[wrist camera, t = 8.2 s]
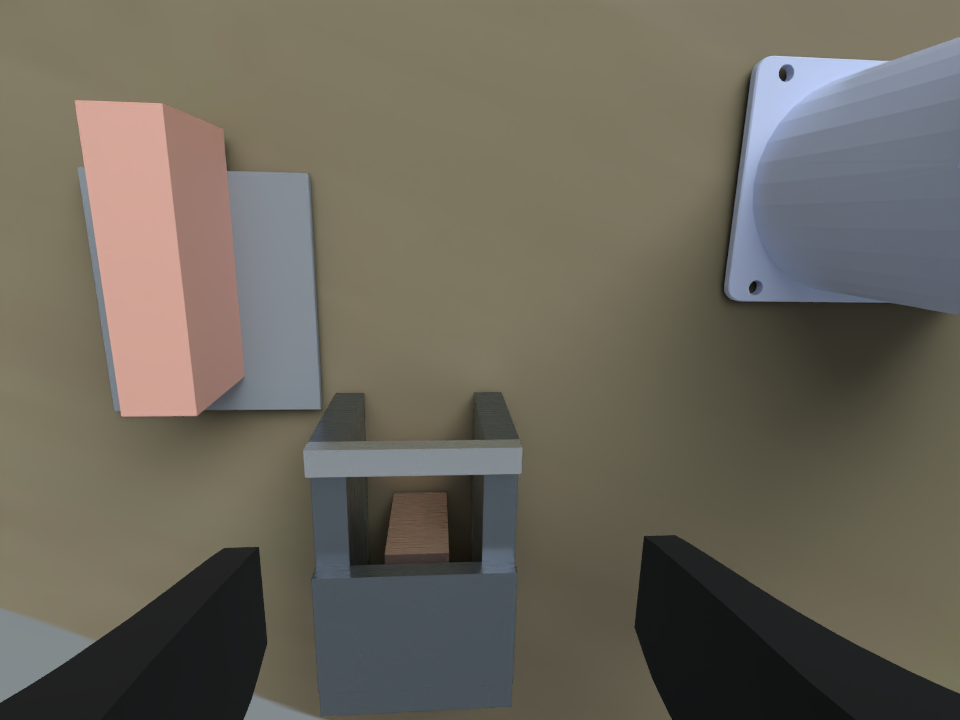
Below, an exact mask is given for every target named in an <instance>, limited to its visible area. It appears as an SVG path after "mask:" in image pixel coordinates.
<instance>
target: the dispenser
mask: <svg viewBox="0 0 960 720" xmlns="http://www.w3.org/2000/svg"><path fill="white" fill-rule="evenodd" d="M303 454H304V470H305V478H310V481H311V497H312V514H313V530H314V547H315V563H316V567H315V570H314V573H313V576H312V579H311V581H312V597H313V612H314V628H315V644H316V660H317V676H318V691H319V694H320V710H321V716H339V715H358V714H377V713H397V712H416V711H435V710H454V709H474V708H493V707H511V697H512V683H513V662H514V638H515V614H516V590H517V569H516V565H515V561H514V559H515V534H516V509H517V484H518V474H521V471H522V445H521V443H520V440H519V437H518V435H517V432H516V430H515V427H514V424H513V422H512V419H511V417H510V414H509V411H508V409H507V406H506V403H505V401H504V398H503V396H502V393H501V392H482V393H474V432H473V440H430V441H365V411H364V393H336V394H335V395H334V397H333V399H332V401H331V403H330V404H329V406H328V408H327V410H326V411H325V413H324V415H323V417H322V418H321V420H320V422H319V424H318V425H317V427H316V429H315V431H314V433H313V434H312V436H311V438H310V440H309V441H308V443H307V445H306V447H305V448H304V450H303ZM430 475H473V487H472V542H471V562H451V563H449V540H448V517H447V494H446V492H427V493H394V496H393V502H392V509H391V516H390V522H389V529H388V536H387V543H386V549H385V564H384V565H370V561H369V531H368V501H367V477H372V476H430Z"/></svg>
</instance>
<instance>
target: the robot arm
mask: <svg viewBox="0 0 960 720" xmlns="http://www.w3.org/2000/svg"><path fill="white" fill-rule="evenodd" d="M780 68H784V69H785V71H786V73H787V77H786V80H785V81H781V79H780V78H779V70H780ZM753 281H755V282H756V284H757V287H756V290H755V291H754V292H753V293H750V292H749V286H750V284H751V283H752V282H753ZM724 292H725V294H726V296H727V297H729V298H730V299H732V300H736V301H759V302H873V303H894V304H900V305H905V306H911V307H916V308H922V309H927V310H932V311H938V312H943V313H949V314H954V315H960V37H958V38H955V39H952V40H950V41H947V42H944V43H941V44H938V45H935V46H932V47H929V48H926V49H924V50H921V51H918V52H915V53H912V54H909V55H906V56H903V57H900V58H898V59H895V60H892V61H872V60H851V59H829V58H808V57H787V56H770V57H766V58H764V59H762V60H761V61H759V62H758V63H757V64H756V65H755V66H754V68H753V70H752V74H751V80H750V88H749V96H748V104H747V111H746V119H745V127H744V135H743V143H742V150H741V158H740V166H739V174H738V182H737V189H736V197H735V205H734V213H733V221H732V228H731V236H730V244H729V252H728V259H727V267H726V275H725V283H724ZM635 630H636V633H637V636H638V639H639V642H640V645H641V648H642V651H643V654H644V657H645V659H646V662H647V665H648V668H649V670H650V673H651V676H652V679H653V681H654V683H655V685H656V687H657V690H658V692H659V694H660V696H661V698H662V700H663V702H664V704H665V706H666V708H667V710H668V712H669V714H670V716H671V718H672V720H960V694H959V693H957V692H954V691H952V690H950V689H947V688H945V687H943V686H940V685H938V684H936V683H934V682H932V681H929V680H927V679H925V678H923V677H921V676H919V675H916V674H914V673H912V672H910V671H908V670H906V669H904V668H902V667H900V666H898V665H896V664H894V663H892V662H890V661H888V660H886V659H884V658H882V657H880V656H878V655H876V654H874V653H872V652H870V651H868V650H866V649H864V648H862V647H860V646H858V645H856V644H854V643H852V642H850V641H849V640H847V639H845V638H843V637H841V636H839V635H837V634H836V633H834V632H832V631H830V630H829V629H827V628H825V627H823V626H822V625H820V624H818V623H816V622H815V621H813V620H811V619H809V618H808V617H806V616H804V615H802V614H801V613H799V612H797V611H796V610H794V609H792V608H791V607H789V606H787V605H786V604H784V603H782V602H781V601H779V600H778V599H776V598H774V597H773V596H771V595H769V594H768V593H766V592H765V591H763V590H761V589H760V588H758V587H757V586H755V585H754V584H752V583H750V582H749V581H747V580H746V579H744V578H743V577H741V576H740V575H738V574H736V573H735V572H733V571H732V570H730V569H729V568H727V567H726V566H724V565H723V564H721V563H720V562H718V561H716V560H715V559H713V558H712V557H710V556H709V555H707V554H706V553H704V552H702V551H701V550H699V549H698V548H696V547H694V546H693V545H691V544H689V543H688V542H686V541H684V540H683V539H681V538H679V537H677V536H675V535H670V536H644V542H643V552H642V561H641V571H640V580H639V590H638V600H637V609H636V619H635ZM266 646H267V634H266V623H265V611H264V600H263V589H262V577H261V566H260V555H259V547H243V548H224V549H222V550H221V551H219V552H218V553H216V554H215V555H213V556H212V557H210V558H209V559H208V560H206V561H205V562H204V563H202V564H201V565H200V566H198V567H197V568H196V569H194V570H193V571H192V572H190V573H189V574H188V575H187V576H185V577H184V578H183V579H181V580H180V581H179V582H177V583H176V584H175V585H173V586H172V587H171V588H169V589H168V590H167V591H165V592H164V593H163V594H161V595H160V596H159V597H157V598H156V599H155V600H153V601H152V602H151V603H149V604H148V605H147V606H145V607H144V608H143V609H141V610H140V611H139V612H137V613H136V614H135V615H133V616H132V617H131V618H129V619H128V620H126V621H125V622H123V623H122V624H121V625H119V626H118V627H116V628H115V629H113V630H112V631H110V632H109V633H108V634H106V635H105V636H103V637H102V638H100V639H99V640H97V641H96V642H95V643H93V644H92V645H90V646H89V647H87V648H86V649H84V650H83V651H82V652H80V653H79V654H77V655H76V656H75V657H73V658H71V659H70V660H69V661H67V662H66V663H64V664H63V665H61V666H59V667H58V668H56V669H55V670H53V671H52V672H50V673H49V674H47V675H45V676H44V677H42V678H41V679H39V680H37V681H36V682H34V683H33V684H31V685H30V686H28V687H26V688H24V689H23V690H21V691H19V692H18V693H16V694H14V695H13V696H11V697H9V698H8V699H6V700H4V701H3V702H1V703H0V720H243V719H244V717H245V715H246V712H247V710H248V707H249V704H250V702H251V699H252V696H253V692H254V689H255V685H256V682H257V679H258V675H259V672H260V668H261V664H262V660H263V657H264V653H265V649H266Z"/></svg>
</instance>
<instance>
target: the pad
mask: <svg viewBox="0 0 960 720" xmlns="http://www.w3.org/2000/svg"><path fill="white" fill-rule="evenodd" d="M78 174H79V180H80V187H81V194H82V200H83V207H84V213H85V220H86V227H87V233H88V240H89V246H90V253H91V260H92V266H93V273H94V280H95V286H96V293H97V299H98V306H99V313H100V319H101V326H102V333H103V339H104V346H105V352H106V359H107V366H108V372H109V379H110V386H111V392H112V399H113V405H114V411H121V410H120V404H119V397H118V390H117V383H116V377H115V370H114V363H113V356H112V349H111V343H110V336H109V329H108V322H107V316H106V309H105V302H104V295H103V288H102V282H101V275H100V268H99V261H98V254H97V248H96V241H95V234H94V227H93V221H92V214H91V207H90V200H89V193H88V187H87V180H86V173H85V167H78ZM227 178H228V189H229V200H230V212H231V223H232V235H233V246H234V257H235V269H236V280H237V292H238V303H239V315H240V326H241V337H242V349H243V360H244V372H245V377H243V378H242V379H241V380H240V381H239V382H237V383H236V384H235V385H234V386H233V387H231V388H230V389H229V390H228V391H226V392H225V393H224V394H223V395H222V396H220V397H219V398H218V399H217V400H216V401H214V402H213V403H212V404H211V405H210V406H208V407H207V408H206V409H205V410H290V409H321V408H322V391H321V373H320V354H319V335H318V316H317V297H316V278H315V259H314V241H313V222H312V203H311V184H310V174H309V173H285V172H248V171H227Z"/></svg>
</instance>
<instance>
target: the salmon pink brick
mask: <svg viewBox="0 0 960 720" xmlns="http://www.w3.org/2000/svg"><path fill="white" fill-rule="evenodd" d="M75 105H76V112H77V119H78V126H79V132H80V139H81V146H82V153H83V160H84V166H85V173H86V180H87V187H88V193H89V200H90V207H91V214H92V221H93V227H94V234H95V241H96V248H97V254H98V261H99V268H100V275H101V282H102V288H103V295H104V302H105V309H106V316H107V322H108V329H109V336H110V343H111V349H112V356H113V363H114V370H115V377H116V383H117V390H118V397H119V404H120V410H121V416H198V415H199V414H200V413H201V412H202V411H204V410H205V409H206V408H207V407H208V406H210V405H211V404H212V403H213V402H214V401H216V400H217V399H218V398H219V397H220V396H222V395H223V394H224V393H225V392H226V391H228V390H229V389H230V388H231V387H233V386H234V385H235V384H236V383H237V382H239V381H240V380H241V379H242V378H243V377H245V372H244V360H243V349H242V337H241V326H240V315H239V303H238V292H237V280H236V269H235V257H234V246H233V235H232V223H231V212H230V200H229V189H228V178H227V166H226V155H225V143H224V132H223V129H221V128H219V127H217V126H214V125H212V124H210V123H207V122H205V121H202V120H200V119H198V118H195V117H193V116H191V115H188V114H186V113H184V112H181V111H179V110H176V109H174V108H172V107H169V106H167V105H165V104H162V103H136V102H109V101H82V100H75Z"/></svg>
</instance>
